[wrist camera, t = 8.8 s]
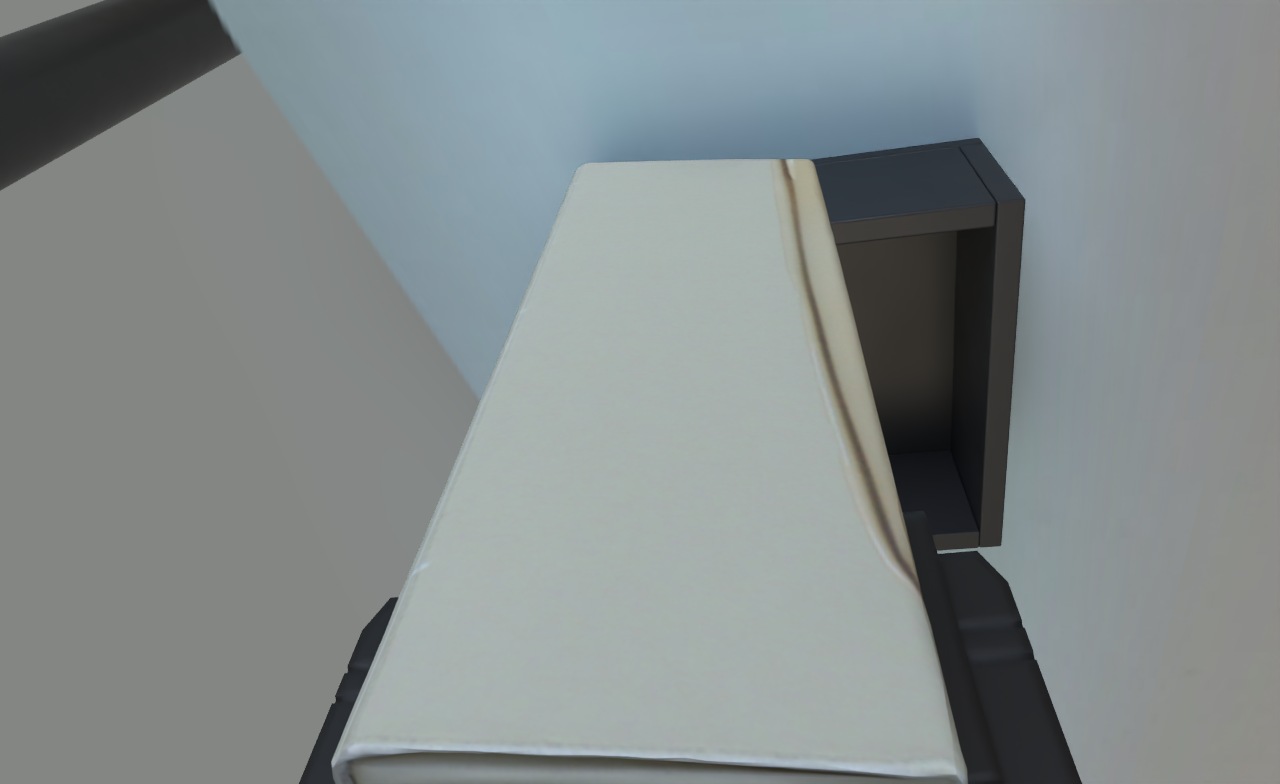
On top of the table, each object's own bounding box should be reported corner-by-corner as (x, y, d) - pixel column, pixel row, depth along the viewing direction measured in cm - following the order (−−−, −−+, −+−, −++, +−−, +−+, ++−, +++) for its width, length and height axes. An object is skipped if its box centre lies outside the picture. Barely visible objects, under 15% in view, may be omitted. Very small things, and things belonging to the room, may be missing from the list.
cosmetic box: (800, 438, 19) (905, 1173, 9) (588, 439, 19) (459, 1149, 9) (816, 140, 16) (1017, 787, 6) (558, 148, 16) (305, 771, 6)
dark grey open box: (646, 481, 41) (637, 572, 36) (588, 188, 33) (568, 254, 29) (966, 454, 39) (1001, 546, 34) (979, 137, 31) (1026, 198, 27)
